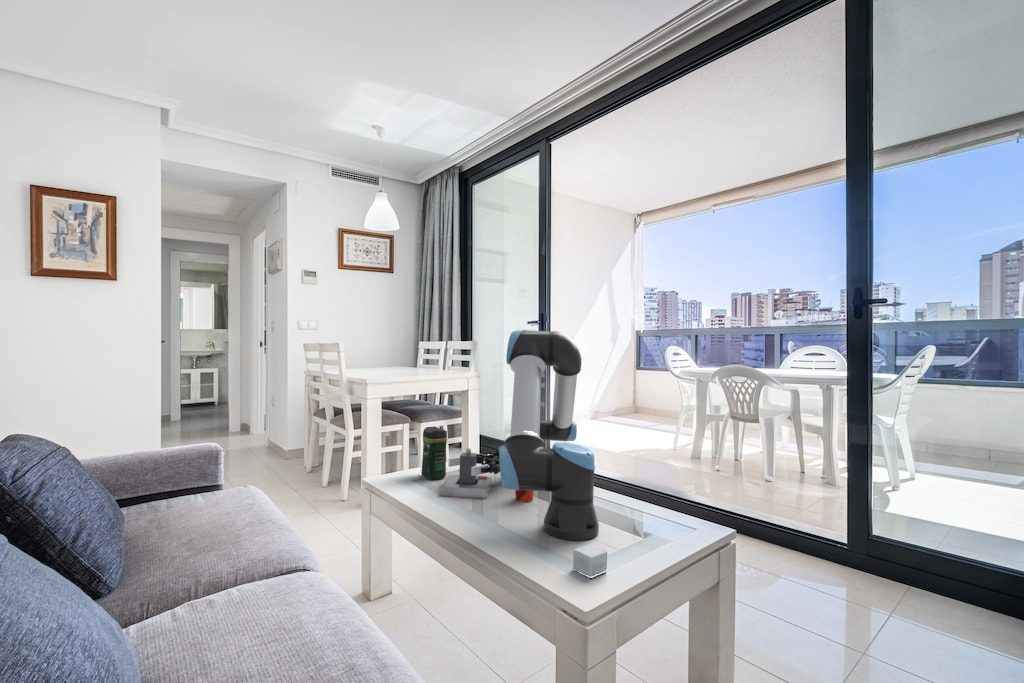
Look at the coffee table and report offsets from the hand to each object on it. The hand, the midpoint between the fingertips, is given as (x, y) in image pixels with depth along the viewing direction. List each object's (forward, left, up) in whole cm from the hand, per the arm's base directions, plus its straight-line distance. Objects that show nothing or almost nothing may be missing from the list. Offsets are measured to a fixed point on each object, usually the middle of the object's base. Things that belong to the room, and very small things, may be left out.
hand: (460, 466), depth 164 cm
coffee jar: (+16, +13, -9) cm, 22 cm away
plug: (+2, -2, -8) cm, 9 cm away
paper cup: (-4, -22, -9) cm, 24 cm away
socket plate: (+2, -2, -8) cm, 9 cm away
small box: (-52, -39, -9) cm, 65 cm away
